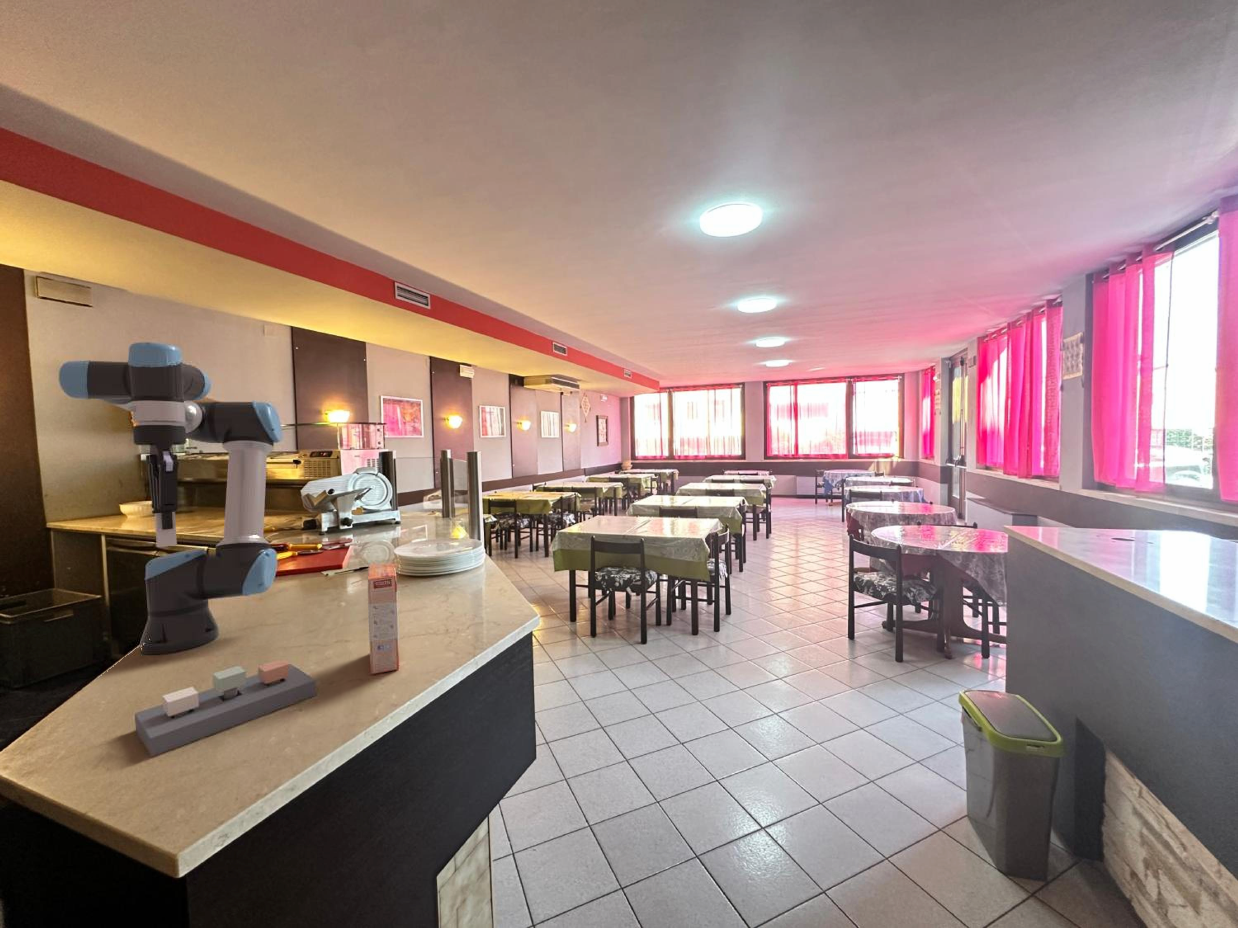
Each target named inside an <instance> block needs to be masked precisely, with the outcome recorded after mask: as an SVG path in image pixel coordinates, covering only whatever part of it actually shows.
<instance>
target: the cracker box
mask: <svg viewBox="0 0 1238 928" xmlns="http://www.w3.org/2000/svg"><path fill="white" fill-rule="evenodd" d="M395 564H396V563H385V564H378V565H372V566H368V575H367V601H368V603H367V605H368V607H367V608H368V632H369V633H368V635H369V656H370V657H369V663H370V674H371V675H377V674H381V673H386V672H387V673H388V672H393V671H397V670H399V669H400V651H399V650H400V647H399V646H400V645H399V644H400V642H399V609H398V606H399V605H398V601H399V600H398V580H397V572H396V565H395Z"/></svg>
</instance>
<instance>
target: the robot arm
mask: <svg viewBox="0 0 1238 928" xmlns="http://www.w3.org/2000/svg"><path fill="white" fill-rule="evenodd" d="M183 359H184V358H182V352H181V349H180V348H179V347H177V346H175V345H172V344H167V343H160V342H147V341H145V342H143V341H142V342H134V343H132V344H130V345H129V347H128V360H127V361H107V360H106V361H105V360H89V359H87V360H71V361H70V360H69V361H67V362H64V363H63V364H62V365H61V366H60V368H59V371H58V381H59V386H60V388H61V390H62V391H63V392H64V394H65V395H67V396H69V397H70V398H73V399H82V400H94V399H95V400H101V401H103V402H106V403H109V404H112V405H114V406H117V407H118V408H121V409H124V410H126V411H128V412H131V414H132V422H133V423H135V424H137V425H134V426H133V427H132V435H133V444H134V445H136V446H149V447H150V448H149V454H147V455H146V454H145V462H146V463H145V465H146V467H147V472H148V482H149V490H150V498H151V499H150V501H151V505H150V506H151V509H152V510H151V513H152V515H154V522H155V537H156V541H155V542H156V547H157V548H163V547H164V548H165V547H170V546H177V545H178V541H177V526H176V522H177V521H176V511H178V506H179V504H178V470H179V461H178V455H177V454H174V450H173V449H174V448H173V446H182V445H183V446H184V445H185V444H186V443H187V440H192V441H195V442H201V443H206V444H221V445H222V446H221V447H222V448H223V450H225V451H226V452H227V453H228V463H227V479H226V480H227V481H226V494H225V510H224V511H225V513H224V527H223V538H222V539H221V541H219V542H218V543H217V544H216V545H215V552H214V553H209V554H207V551H206V550H205V548H194V549H188V550H183V551H177V552H174V553H170V554H169V553H168V554H165V555H162V556H159V557H155V558H152V559H151V560H149V561H148V562H147V563H146V565H145V577H144V580H145V590H146V604H147V606H146V607H147V622H146V624H145V627H144V630H143V633H142V635H141V638H140V642H139V650H140V649H141V648H142V650H141V651H140V653H141V654H143V655H162V654H170V653H175V652H180V651H185V650H189V649H192V648H196V647H199V646H203V645H206V644H208V643H210V642H213V641H214V640H215V639H217V638H218V637H219V635H220V633H219V631H220V630H219V625H218V623H217V620H216V619H215V617H214V615H213V614H212V611H211V609H210V607H209V600H216V599H224V598H225V599H226V598H235V597H249V596H251V595H258V594H263V593H265V592H267V591H268V590H269V589H270V588H271V586H272V584H273V582H274V581H275V577H276V574H277V568H278V554H277V551H276V550H275V549H274V548H270V542H269V541H268V540H266V539H265V538H264V530H265V529H264V528H265V527H264V525H265V501H266V482H267V481H266V480H267V479H266V477H267V463H268V462H267V458H268V455H269V454H270V453H271V452H273V450H274V446H275V444H277V443H280V442H281V441H282V438H283V430H282V425H281V420H280V417H279V414H278V413H279V412H278V411H277V409H276V407H275V406H274V405H273V404H272V403H270V402H265V401H263V402H262V401H254V400H253V401H199V400H202V399H204V398H205V397H206V396H208V394H209V393H210V391H211V387H212V383H211V379H210V377H209V375H208V374H207V373H206V372H204V371H203V370H201V369H200V368H198V367H196V366H195V365H194V366H193V365H192V364H186V363H183V362H184V360H183ZM149 639H150V640H149ZM143 643H145V644H144V645H143ZM141 645H142V647H141V648H140V646H141Z"/></svg>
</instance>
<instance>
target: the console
mask: <svg viewBox="0 0 1238 928" xmlns="http://www.w3.org/2000/svg"><path fill="white" fill-rule="evenodd" d="M288 664H289V676H288V677H285V678H282V679H280V682H279V683H276V684H273V685H270V686H268V683H267V684H265V683H264V682H262V681H261V680H260V679H259V678H258V673H257V674H254V675H251V676H246V684H244V685H241V686H238V687H237V697H235V698H232V699H229V700H226V701H224V693H223V692H219V691H218V690H217V689H216V688H215V687H213V688H210V689H207V690H204V691H200V692H198V700H199V707H196V708H193V709H190V710H189V713H187V714H184V715H181V716H178V717H175V718H174V715H172V716H168V715H167V714H166V712H165V711H164V710H163V703H162V704H159V705H156V706H153V707H149V708H147V709H144V710H141V711H137V712H134V721H135V731H136V733H137V735H138V736H139V738H140V740H141V741H142V742H143V744H144V746H145V748H146V750H147V752H148V754H149V755H150V757H155V756H158V755H160V754H163V753H165V752H168V751H170V750H173V749H176V748H179V747H181V746H184V745H187V744H189V743H192V742H195V741H197V740H201V739H203V738H205V737H207V736H208V737H209V736H211V735H213V734H215V733H216V734H217V733H219V732H222V731H224V730H226V729H231V728H232V727H234V726H237V725H240V724H243V723H245V722H249V721H252V720H253V719H257V718H259V717H262V716H265V715H267V714H270V713H273V712H275V711H277V710H279V709H280V710H281V709H282V708H283V709H284V708H286V707H288V706H290V705H293V704H297V703H299V702H302V701H304V700H306V699H309V698H312V697H314V696H317V682H316V679H315V678H313V677H311V676H310V675H309V674H307V673H306V672H304V671H302V670H301V669H300V668H298V667H296V666H295V665H293V664H291V663H288Z"/></svg>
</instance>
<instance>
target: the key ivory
mask: <svg viewBox="0 0 1238 928" xmlns="http://www.w3.org/2000/svg"><path fill="white" fill-rule="evenodd" d="M198 693H199V692H198V691H197V690H196V689H195V688H194V687H193V686H190V687H187V688H184V689H181V690H177V691H174V692H171V693H168V694H164V695H162V704H163V710H164V711H165V712H166V714H167V715H168V716H172V715H174V718H175V717H178V716H181V715H184V714H187V713H189V710H190V709H193V708H196V707H199V700H198Z"/></svg>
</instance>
